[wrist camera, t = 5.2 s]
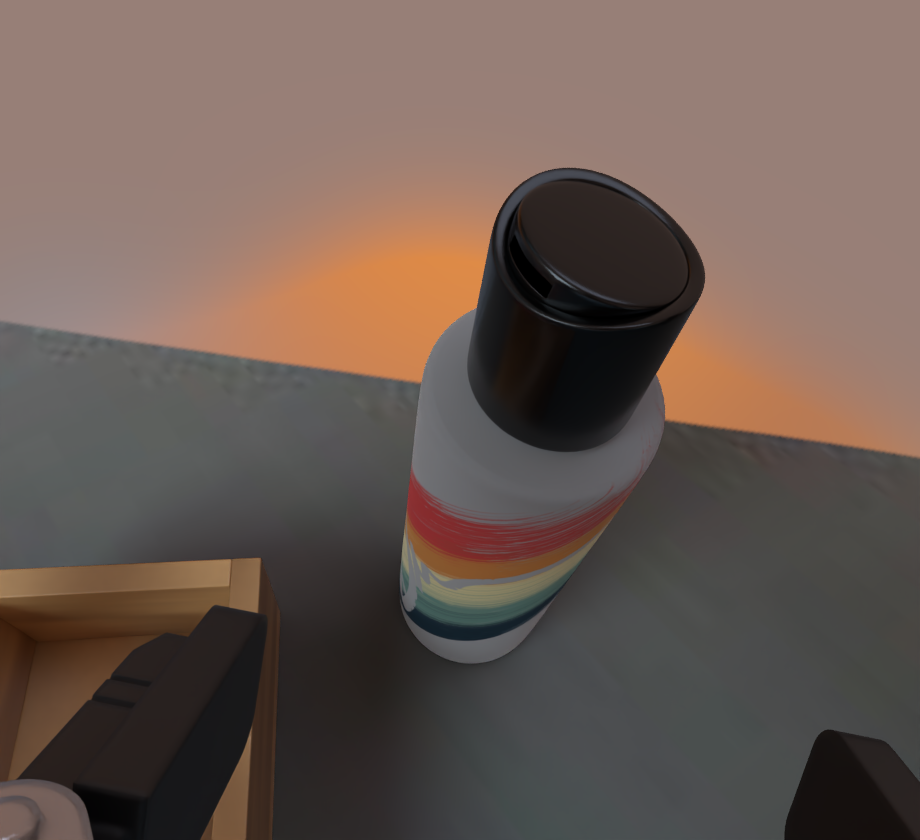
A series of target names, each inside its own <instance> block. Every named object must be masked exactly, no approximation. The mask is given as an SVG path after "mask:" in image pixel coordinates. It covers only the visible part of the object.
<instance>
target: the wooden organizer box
mask: <svg viewBox="0 0 920 840" xmlns="http://www.w3.org/2000/svg"><path fill="white" fill-rule="evenodd" d="M214 605H220V606H225V607H230V608H235V609H240V610H245V611H250V612H255V613H260V614H265V615H267V618H268V628H267V636H266V642H265V649H264V655H263V662H262V669H261V675H260V682H259V689H258V695H257V702H256V708H255V714H254V719H253V723H252V727H251V730H250V734H249V737H248V740H247V743H246V746H245V749H244V751H243V754H242V756H241V758H240V760H239V762H238V764H237V766H236V768H235V770H234V772H233V774H232V777H231V779H230V781H229V783H228V785H227V787H226V789H225V791H224V793H223V795H222V797H221V799H220V801H219V803H218V805H217V807H216V809H215V811H214V813H213V815H212V817H211V819H210V821H209V823H208V825H207V827H206V829H205V831H204V833H203V835H202V837H201V839H200V840H272V828H273V801H274V774H275V747H276V720H277V694H278V667H279V640H280V610H279V608H278V604H277V601H276V598H275V595H274V593H273V590H272V587H271V584H270V581H269V579H268V576H267V573H266V570H265V568H264V565H263V562H262V559H261V558H240V559H233V560H231V559H222V560H200V561H179V562H158V563H136V564H115V565H94V566H72V567H51V568H30V569H9V570H0V782H5V781H10V780H16V779H17V778H18V777H19V776H20V775H21V773H22V772H23V771H24V770H25V769H26V768H27V767H28V766H29V765H30V764H31V762H32V761H33V760H34V759H35V758H36V757H37V756H38V755H39V754H40V752H41V751H42V750H43V749H44V748H45V747H46V746H47V745H48V744H49V742H50V741H51V740H52V739H53V738H54V737H55V736H56V735H57V734H58V732H59V731H60V730H61V729H62V728H63V727H64V726H65V725H66V724H67V723H68V721H69V720H70V719H71V718H72V717H73V716H74V715H75V714H76V713H77V711H78V710H79V709H80V708H81V707H82V706H83V705H84V704H85V703H86V701H87V700H91V699H92V696H93V694H94V693H95V691H96V690H97V689H98V688H99V687H100V686H101V685H102V684H103V683H104V682H105V680H106V679H110V677H111V674H112V673H113V672H114V670H115V669H116V668H117V667H118V666H119V665H120V664H121V663H122V662H123V660H124V659H125V658H126V657H127V656H128V655H129V654H130V653H131V652H132V650H134V649H136V648H137V647H139V646H141V645H143V644H145V643H147V642H149V641H151V640H153V639H155V638H157V637H159V636H160V635H162V634H164V633H166V632H167V633H172V634H177V635H182V636H187V637H188V636H189V635H190V634H191V633H192V631H193V630H194V629H195V627H196V626H197V625H198V624H199V622H200V621H201V620H202V619H203V617H204V616H205V615H206V614H207V612H208V611H209V610H210V609H211V607H212V606H214Z"/></svg>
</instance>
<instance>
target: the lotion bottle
mask: <svg viewBox="0 0 920 840" xmlns="http://www.w3.org/2000/svg"><path fill="white" fill-rule="evenodd" d="M704 283H705V271H704V266H703V262H702V260H701V257H700V255H699V253H698V251H697V249H696V247H695V246H694V244H693V243H692V241H691V240H690V238H689V237H688V236H687V234H686V233H685V232H684V231H683V229H682V228H681V227H680V226H679V225H678V224H677V223H676V221H675V220H674V219H673V218H672V217H671V216H670V215H669V214H667V213H666V212H665V211H664V210H663V209H662V208H661V207H660V206H658V205H657V204H656V203H655V202H653V201H652V200H651V199H649V198H648V197H647V196H645V195H644V194H642V193H641V192H639V191H638V190H636V189H635V188H633V187H631V186H630V185H628V184H626V183H624V182H622V181H620V180H618V179H616V178H613V177H611V176H608V175H606V174H603V173H599V172H596V171H592V170H587V169H580V168H559V169H552V170H548V171H545V172H542V173H539V174H537V175H535V176H533V177H530V178H529V179H527V180H526V181H524V182H523V183H522V184H520V185H519V186H518V187H517V188H516V189H515V190H514V191H513V192H512V193H511V194H510V195H509V196H508V198H507V199H506V200H505V202H504V203H503V205H502V207H501V209H500V210H499V213H498V215H497V217H496V220H495V223H494V227H493V230H492V234H491V239H490V244H489V249H488V254H487V259H486V264H485V269H484V275H483V279H482V284H481V289H480V294H479V299H478V305H477V308H476V309H474V310H472V311H470V312H468V313H466V314H465V315H463V316H462V317H460V318H459V319H457V320H456V321H455V322H454V323H453V324H451V325H450V326H449V328H448V329H446V330H445V331H444V333H443V334H442V335H441V337H440V338H439V339H438V341H437V342H436V344H435V345H434V347H433V349H432V351H431V354H430V356H429V358H428V360H427V363H426V366H425V369H424V373H423V378H422V383H421V388H420V396H419V403H418V411H417V420H416V429H415V438H414V447H413V456H412V466H411V475H410V484H409V493H408V502H407V512H406V521H405V530H404V539H403V548H402V558H401V567H400V579H399V596H400V604H401V608H402V612H403V615H404V618H405V620H406V622H407V624H408V626H409V628H410V630H411V631H412V632H413V634H414V635H415V636H416V638H417V639H418V640H419V641H420V642H421V643H422V644H423V645H424V646H425V647H427V648H428V649H429V650H430V651H432V652H434V653H435V654H437V655H439V656H441V657H443V658H445V659H448V660H451V661H455V662H460V663H483V662H488V661H492V660H494V659H497V658H499V657H501V656H504V655H505V654H507V653H509V652H510V651H511V650H513V649H514V648H515V647H517V646H518V645H519V644H520V643H521V642H522V641H523V640H524V639H525V638H526V636H527V635H528V634H529V633H530V632H531V630H532V629H533V628H534V626H535V625H536V624H537V622H538V621H539V620H540V618H541V617H542V615H543V614H544V613H545V611H546V610H547V609H548V607H549V606H550V604H551V603H552V602H553V600H554V599H555V597H556V596H557V595H558V593H559V592H560V591H561V589H562V588H563V586H564V585H565V584H566V582H567V581H568V579H569V578H570V577H571V575H572V574H573V573H574V571H575V570H576V568H577V567H578V566H579V564H580V563H581V561H582V560H583V559H584V557H585V556H586V555H587V553H588V552H589V550H590V549H591V548H592V546H593V545H594V543H595V542H596V541H597V539H598V538H599V537H600V535H601V534H602V532H603V531H604V530H605V528H606V527H607V525H608V524H609V523H610V521H611V520H612V519H613V517H614V516H615V514H616V513H617V512H618V510H619V509H620V507H621V506H622V505H623V503H624V502H625V500H626V499H627V498H628V496H629V495H630V493H631V492H632V490H633V489H634V488H635V486H636V485H637V483H638V482H639V480H640V479H641V477H642V476H643V474H644V473H645V471H646V470H647V468H648V467H649V465H650V463H651V462H652V460H653V458H654V456H655V454H656V452H657V450H658V447H659V444H660V441H661V438H662V434H663V429H664V422H665V405H664V397H663V394H662V389H661V386H660V383H659V380H658V377H657V375H656V373H657V371H658V370H659V368H660V366H661V364H662V363H663V361H664V359H665V357H666V356H667V354H668V352H669V351H670V349H671V347H672V345H673V343H674V342H675V340H676V338H677V337H678V335H679V333H680V331H681V330H682V328H683V326H684V324H685V323H686V321H687V319H688V318H689V316H690V314H691V312H692V311H693V309H694V307H695V305H696V303H697V302H698V300H699V298H700V296H701V294H702V291H703V288H704Z"/></svg>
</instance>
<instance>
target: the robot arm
mask: <svg viewBox="0 0 920 840" xmlns="http://www.w3.org/2000/svg"><path fill="white" fill-rule="evenodd" d="M267 628H268V618H267V615H265V614H260V613H255V612H250V611H245V610H240V609H235V608H230V607H225V606H220V605H214V606H212V607H211V609H210V610H209V611H208V612H207V614H206V615H205V616H204V617H203V619H202V620H201V621H200V622H199V624H198V625H197V626H196V627H195V629H194V630H193V631H192V633H191V634H190V635H189V636H188V637H187V636H182V635H177V634H172V633H167V632H166V633H164V634H162V635H160V636H159V637H157V638H155V639H153V640H151V641H149V642H147V643H145V644H143V645H141V646H139V647H137V648H136V649H134V650H132V652H131V653H130V654H129V655H128V656H127V657H126V658H125V659H124V660H123V662H122V663H121V664H120V665H119V666H118V667H117V668H116V669H115V670H114V672H113V673H112V674H111V677H110V679H106V680H105V682H104V683H103V684H102V685H101V686H100V687H99V688H98V689H97V690H96V691H95V693H94V694H93V696H92V699H91V700H87V701H86V703H85V704H84V705H83V706H82V707H81V708H80V709H79V710H78V711H77V713H76V714H75V715H74V716H73V717H72V718H71V719H70V720H69V721H68V723H67V724H66V725H65V726H64V727H63V728H62V729H61V730H60V731H59V732H58V734H57V735H56V736H55V737H54V738H53V739H52V740H51V741H50V742H49V744H48V745H47V746H46V747H45V748H44V749H43V750H42V751H41V752H40V754H39V755H38V756H37V757H36V758H35V759H34V760H33V761H32V762H31V764H30V765H29V766H28V767H27V768H26V769H25V770H24V771H23V772H22V773H21V775H20V776H19V777H18V778H17V779H16V780H10V781H5V782H0V840H200V839H201V837H202V835H203V833H204V831H205V829H206V827H207V825H208V823H209V821H210V819H211V817H212V815H213V813H214V811H215V809H216V807H217V805H218V803H219V801H220V799H221V797H222V795H223V793H224V791H225V789H226V787H227V785H228V783H229V781H230V779H231V777H232V774H233V772H234V770H235V768H236V766H237V764H238V762H239V760H240V758H241V756H242V754H243V751H244V749H245V746H246V743H247V740H248V737H249V734H250V730H251V727H252V723H253V719H254V714H255V708H256V702H257V695H258V689H259V682H260V675H261V669H262V662H263V655H264V649H265V642H266V636H267ZM785 840H920V782H919V781H918V779H917V778H916V777H915V776H914V774H913V773H912V772H911V771H910V770H909V768H908V767H907V766H906V765H905V763H904V762H903V761H902V760H901V759H900V757H899V756H898V755H897V754H896V752H895V751H894V750H893V749H892V748H891V747H890V745H889V744H887V743H886V742H884V741H882V740H879V739H874V738H869V737H864V736H859V735H854V734H849V733H844V732H839V731H834V730H825V731H823V732H821V733H820V734H819V735H818V737H817V738H816V740H815V742H814V745H813V747H812V750H811V753H810V756H809V758H808V761H807V764H806V767H805V769H804V772H803V775H802V778H801V780H800V783H799V786H798V789H797V792H796V794H795V797H794V800H793V803H792V805H791V808H790V811H789V814H788V817H787V820H786V825H785Z"/></svg>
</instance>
